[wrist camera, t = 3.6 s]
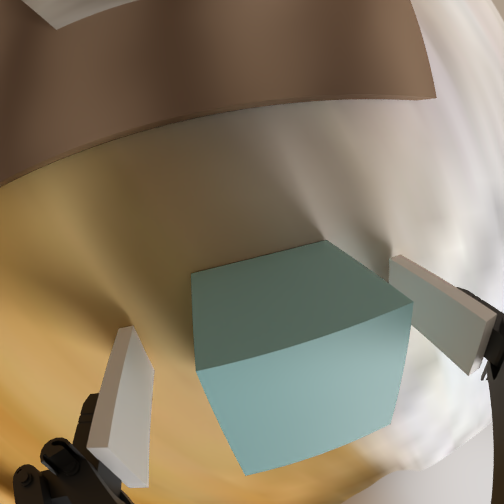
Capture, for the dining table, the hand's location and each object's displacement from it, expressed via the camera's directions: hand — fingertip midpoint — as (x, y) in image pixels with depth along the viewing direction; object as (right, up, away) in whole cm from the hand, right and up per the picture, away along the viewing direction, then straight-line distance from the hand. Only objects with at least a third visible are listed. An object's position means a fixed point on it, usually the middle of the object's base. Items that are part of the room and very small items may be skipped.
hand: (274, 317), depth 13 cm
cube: (0, 0, 0) cm, 0 cm away
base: (-4, +17, -7) cm, 19 cm away
